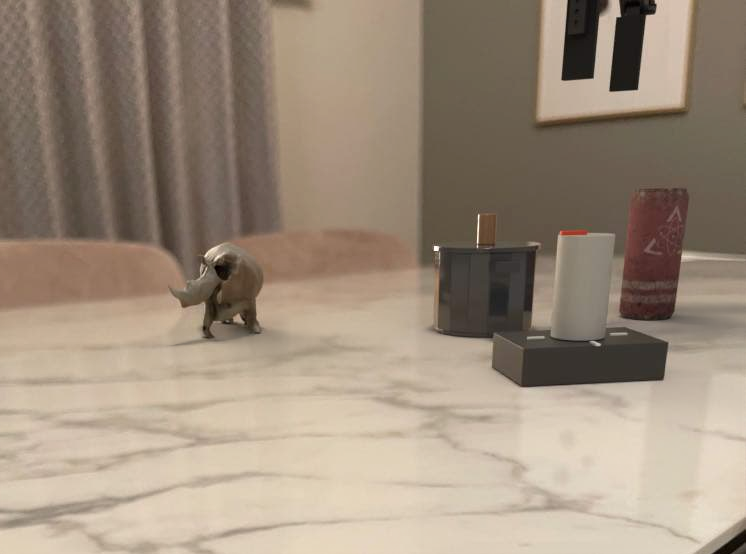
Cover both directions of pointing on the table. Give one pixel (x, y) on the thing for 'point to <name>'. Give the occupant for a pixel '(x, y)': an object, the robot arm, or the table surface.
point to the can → (653, 253)
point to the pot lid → (486, 240)
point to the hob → (578, 357)
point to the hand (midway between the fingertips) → (601, 86)
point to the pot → (483, 292)
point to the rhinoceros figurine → (225, 287)
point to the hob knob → (582, 285)
